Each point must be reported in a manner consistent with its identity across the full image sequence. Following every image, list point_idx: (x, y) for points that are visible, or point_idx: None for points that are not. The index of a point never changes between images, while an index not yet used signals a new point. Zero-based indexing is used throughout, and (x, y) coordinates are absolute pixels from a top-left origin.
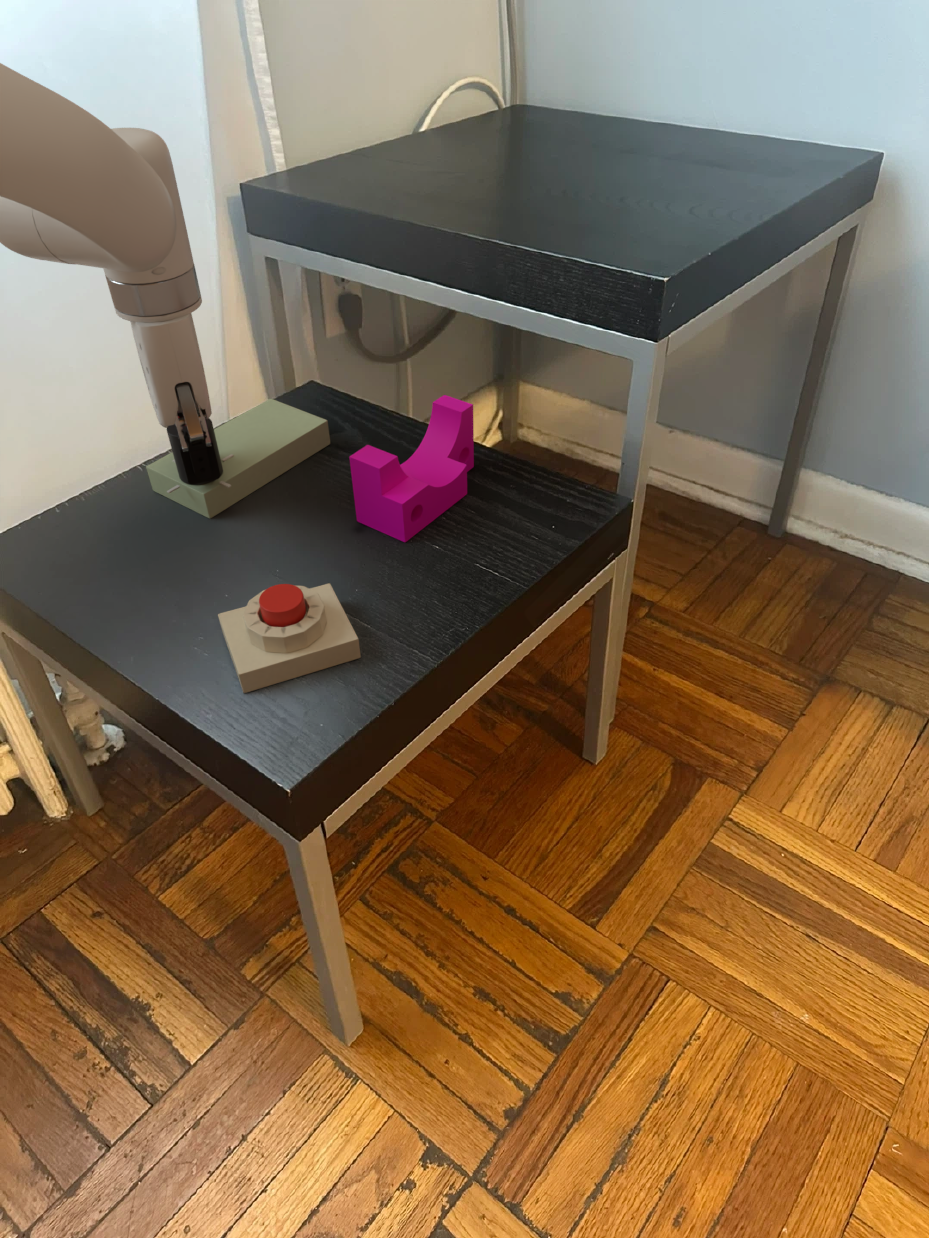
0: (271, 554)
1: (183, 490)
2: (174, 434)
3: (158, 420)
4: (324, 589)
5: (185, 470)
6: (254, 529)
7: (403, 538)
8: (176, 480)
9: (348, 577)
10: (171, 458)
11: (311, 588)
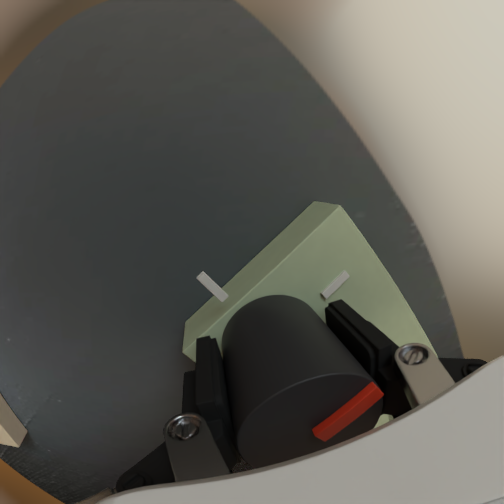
0: (89, 400)
1: (234, 295)
2: (265, 409)
3: (154, 499)
4: (9, 440)
5: (197, 359)
6: (148, 386)
7: None
8: (256, 288)
9: (64, 451)
10: (358, 265)
11: (6, 432)
